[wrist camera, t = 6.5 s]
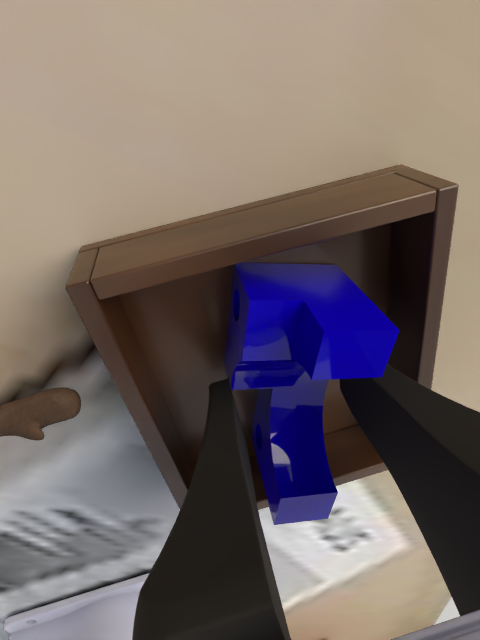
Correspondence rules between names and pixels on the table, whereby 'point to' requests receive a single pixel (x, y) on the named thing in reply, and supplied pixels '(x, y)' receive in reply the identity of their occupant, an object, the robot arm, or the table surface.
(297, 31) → the table surface
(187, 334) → the box
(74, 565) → the table surface
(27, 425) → the brown humanoid figurine
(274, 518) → the cable holder
